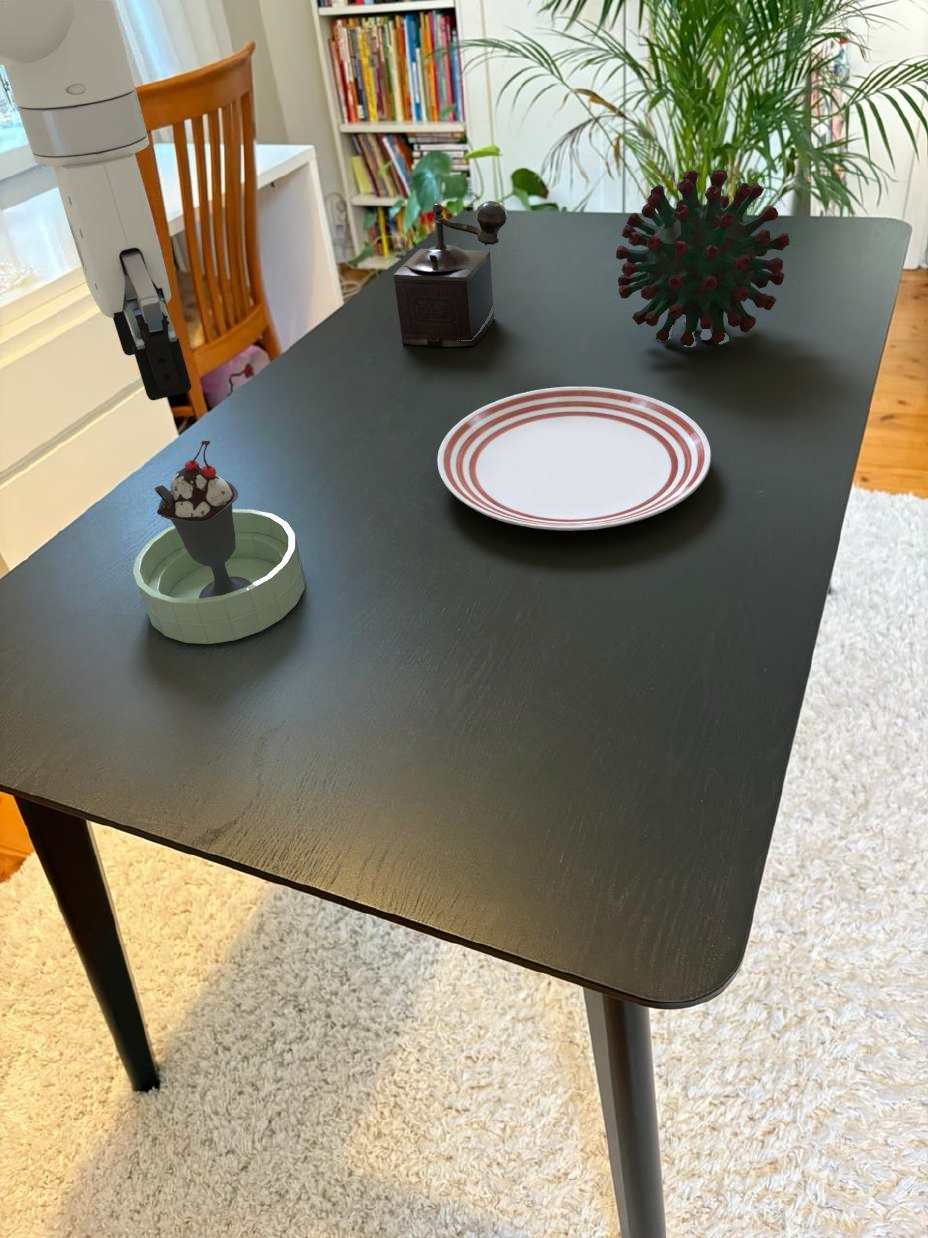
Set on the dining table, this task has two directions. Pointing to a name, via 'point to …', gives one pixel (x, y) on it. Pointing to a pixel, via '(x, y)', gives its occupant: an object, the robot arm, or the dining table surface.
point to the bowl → (179, 580)
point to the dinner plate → (574, 458)
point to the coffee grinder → (449, 285)
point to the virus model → (700, 258)
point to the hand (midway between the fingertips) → (156, 371)
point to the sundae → (204, 521)
